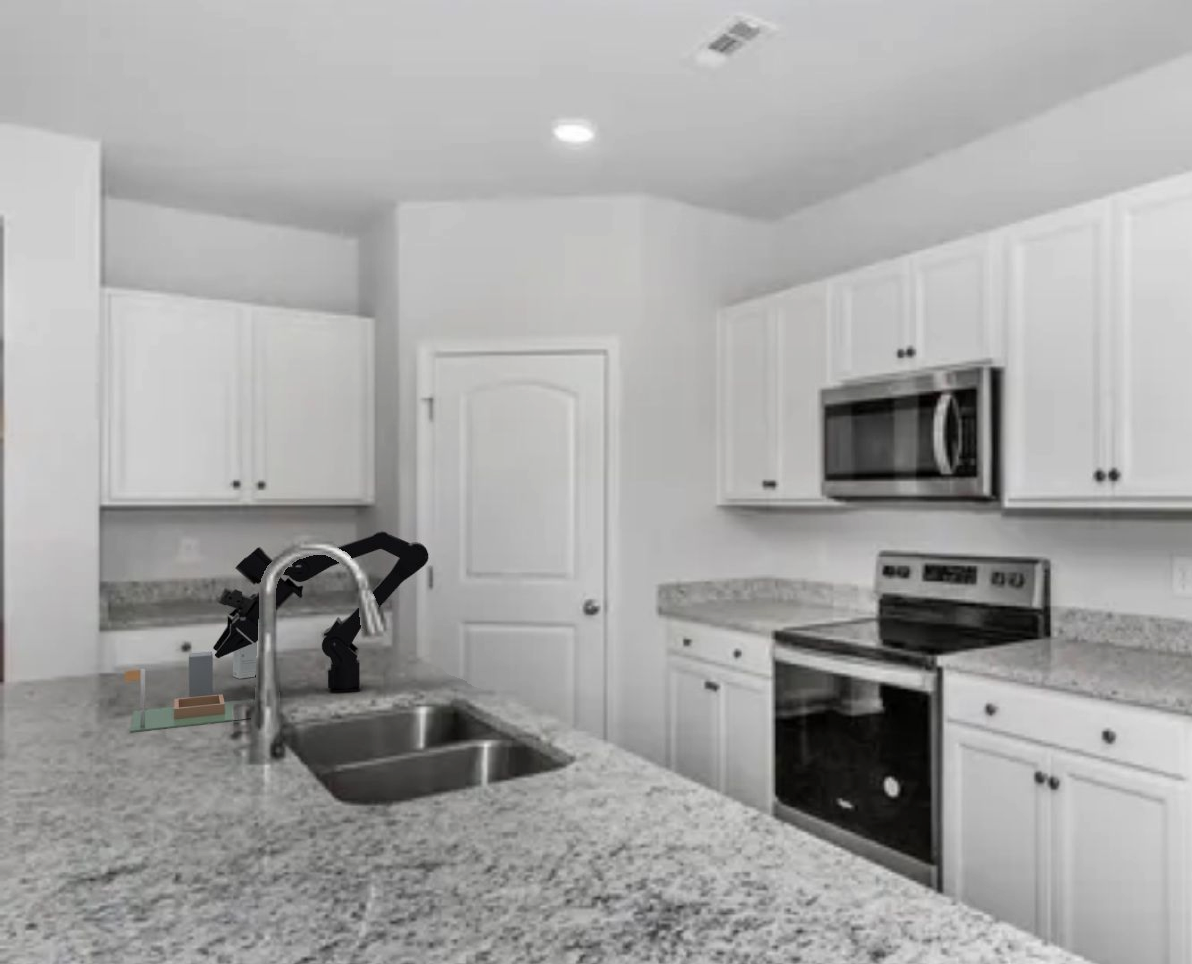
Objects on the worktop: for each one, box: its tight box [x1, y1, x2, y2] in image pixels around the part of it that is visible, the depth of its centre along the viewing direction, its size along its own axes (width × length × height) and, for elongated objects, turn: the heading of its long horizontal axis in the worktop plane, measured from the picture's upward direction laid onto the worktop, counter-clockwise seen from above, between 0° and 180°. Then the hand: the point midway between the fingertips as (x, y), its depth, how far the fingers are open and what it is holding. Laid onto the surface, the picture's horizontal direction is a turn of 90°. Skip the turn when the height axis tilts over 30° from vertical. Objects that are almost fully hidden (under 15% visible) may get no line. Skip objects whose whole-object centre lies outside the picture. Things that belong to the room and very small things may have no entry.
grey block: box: [188, 651, 214, 698], centre depth 189 cm, size 5×5×10 cm
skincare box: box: [232, 640, 257, 680], centre depth 214 cm, size 6×4×12 cm
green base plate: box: [124, 668, 254, 733], centre depth 177 cm, size 25×16×11 cm, turn 116°
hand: (215, 653), depth 191 cm, fingers open, 9 cm apart
